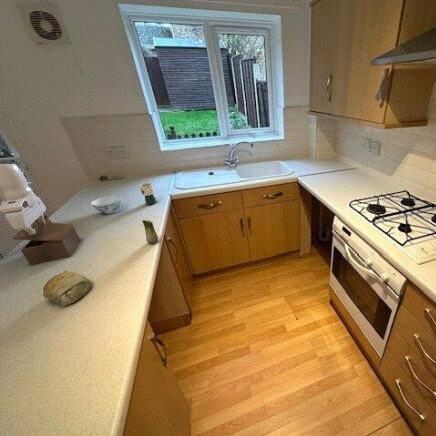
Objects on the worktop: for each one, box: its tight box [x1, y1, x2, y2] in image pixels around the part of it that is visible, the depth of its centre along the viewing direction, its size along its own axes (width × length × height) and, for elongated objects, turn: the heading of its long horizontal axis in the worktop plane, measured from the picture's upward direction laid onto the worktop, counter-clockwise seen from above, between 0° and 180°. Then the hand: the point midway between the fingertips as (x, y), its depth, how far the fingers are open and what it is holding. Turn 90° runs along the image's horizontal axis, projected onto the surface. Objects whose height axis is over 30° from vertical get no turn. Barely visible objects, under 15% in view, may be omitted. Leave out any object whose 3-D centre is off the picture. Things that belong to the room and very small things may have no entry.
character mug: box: [139, 182, 157, 205], centre depth 155 cm, size 11×7×13 cm, turn 37°
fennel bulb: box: [141, 219, 159, 245], centre depth 113 cm, size 6×5×12 cm
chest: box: [20, 225, 81, 266], centre depth 108 cm, size 14×16×8 cm
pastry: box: [42, 270, 91, 307], centre depth 85 cm, size 14×12×8 cm
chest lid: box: [12, 221, 74, 242], centre depth 105 cm, size 14×16×4 cm
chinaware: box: [90, 195, 123, 215], centre depth 145 cm, size 15×15×8 cm
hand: (38, 229), depth 104 cm, fingers open, 8 cm apart
